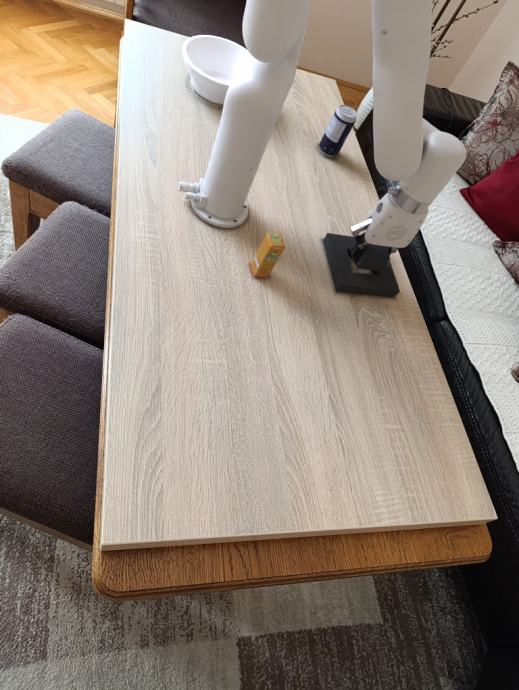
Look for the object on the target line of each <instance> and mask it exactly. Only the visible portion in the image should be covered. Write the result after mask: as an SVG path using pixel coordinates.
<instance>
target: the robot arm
mask: <svg viewBox="0 0 519 690" xmlns="http://www.w3.org/2000/svg"><path fill="white" fill-rule="evenodd" d="M311 5H312V4H311V0H246V3H245V8H244V12H243V17H242V25H241V26H242V28H241V29H242V30H241V31H242V39H243V43H244V45H245V49H247V50H248V52H247V56H246V59H245V60H244V62H243V63H242V65H241V66H240V68H239V69H238V71H237V73H236V74H235V76H234V78H233V79H232V81H231V83H230V85H229V88H228V90H227V93H226V97H225V101H224V105H223V107H222V111H221V117H220V121H219V125H218V128H217V132H216V136H215V139H214V143H213V146H212V150H211V154H210V157H209V161H208V164H207V168H206V171H205V175H204V178H203V177H200V178H199V181H198V182H193V183H189V182H186V181H181V180H180V181H179V182H178V184H177V185H178V186H177V190H178V191H179V192H185V193H184V199H185V200H190V204H191V208H192V210H193V211H194V213H195V214H196V215H197V217H199V219H201V220H203V221H204V222H205V223H207V224H209V225H211V226H214V227H218V228H223V229H232V228H236V227H239V226H240V225H242V224H244V223H245V221H246V220H247V217H248V215H249V205H248V202H247V198H248V195H249V192H250V190H251V187H252V185H253V182H254V179H255V177H256V174H257V172H258V170H259V167H260V164H261V162H262V159H263V156H264V154H265V151H266V149H267V147H268V146H267V145H268V143H269V140H270V138H271V135H272V133H273V131H274V128H275V126H276V123H277V120H278V119H279V116H280V114H281V111H282V108H283V106H284V104H285V102H286V100H287V97H288V94H289V92H290V91H291V88H292V85H293V83H294V80H295V77H296V73H297V70H298V66H299V62H300V59H301V58H300V57H301V54H302V49H303V45H304V42H305V38H306V34H307V30H308V27H309V22H310V17H311V9H312V8H311V7H312V6H311ZM370 7H371V9H370V10H371V28H372V29H371V34H372V35H371V38H372V39H371V41H372V76H371V77H372V101H373V102H372V114H373V115H372V135H373V136H372V137H373V159H374V164H375V168H376V170H377V172H378V173H379V174H380V176H381V177H383V178H384V179H385V180H388V181H391V182H396V184H395V185H394V186H389V187H388V188H387V192H386V194H384V195H383V197H381V198H380V199H379V201H377V203H376V204H375V205H374V206H373V208H372V209H371V210H370V211H369V212H368V214H367V215H366V217H365V218H364V220H363V221H361V222H359V223H357V224H355V225H352V226H350V228H349V230H350V233H351V235H352V237H354V238H355V241H356V243H355V244H354V246H353V247H352V249H351V251H350V253H351V256H352V257H351V258H352V262H353V263H355V262H356V261H357V260H358V259H359V257H360V256H361V254H362V253H363V252H364V247H366V246H367V245H368V244H369V243H370V244H374V245H381V246H387V249H388V252H389V255H390V256H391V255H392V254H395V253H397V251H398V250H401V249H403V248H406V247H408V246H409V245H410V244H414V243H415V242H416V237H415V236H416V235H417V234H418V232H419V231H420V229H421V228H422V226H423V224H424V222H425V220H426V219H427V216H428V215H429V207H430V206H431V205H432V204H433V203H434V201H435V200H436V198H437V197H438V196H439V195H440V194H441V192H442V191H443V190H444V189H445V187H446V186H447V185H448V183H450V181H451V180H452V178H453V177H454V176H455V174H456V173H457V172H458V171H459V169H461V167H462V165H463V164H464V163H465V161H466V159H467V155H468V154H467V149H466V146H465V145H464V143H463V142H462V141H461V140H460V139H459V138H458V137H456V136H454V135H453V134H451V133H448V132H445V131H441V130H439V129H438V128H437V127H436V126H434V125H432V124H431V123H430V122H429V121H428V120H426V119H425V118H423V116H424V103H425V92H426V86H427V80H428V74H429V69H430V61H431V59H430V58H431V49H432V26H433V25H432V24H433V22H432V21H433V0H370ZM178 191H177V192H178ZM364 237H365V240H364V241H363V238H364Z"/></svg>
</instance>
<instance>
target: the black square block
mask: <svg viewBox="0 0 519 690" xmlns="http://www.w3.org/2000/svg"><path fill="white" fill-rule="evenodd" d="M364 240H365V237H364V238H363V241H364ZM355 243H356V241H355ZM355 243H354V244H355ZM354 244H353V246H354ZM353 246H352V247H353ZM352 247H351V249H352ZM389 259H391V255H389V252H388V249H387V246H381V245H374V244H370V243H369V244H368V245H367V246H366V247H364V252H363V253H362V254H361V256H360V257H359V259H358V260H357V261H356V262H354V264H355V268H356V269H358V270H364V271H365V270H366V271H371V270H373V271H380V270H381V269H382V268H383V267H384V265H385V264H386V263H387V262H388V260H389Z"/></svg>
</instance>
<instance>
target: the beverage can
mask: <svg viewBox="0 0 519 690" xmlns="http://www.w3.org/2000/svg"><path fill="white" fill-rule="evenodd" d="M357 116H358V113H357V111H356V110H355V108H353V107H351V106H350V105H348V104H341V105H339V106H338V107H337V108H335V111H334V113H333V115H332V117H331V119H330V121H329V123H328V124H327V127H326V129H325V131H324V133H323V135H322V137H321V140H320V141H319V144H318V146H319V149H320V152H321V153H322V154H323V155H324V156H327V157H328V158H329V157H331V158H332V157H335V156H338V155H339V153H340V152H341V150H342V148H343V146H344V144H345V143H346V140H347V138H348V137H349V135H350V133H351V131H352V129H353V127H354V125H355V123H356V122H357Z"/></svg>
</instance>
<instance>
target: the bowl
mask: <svg viewBox="0 0 519 690" xmlns="http://www.w3.org/2000/svg"><path fill="white" fill-rule="evenodd" d="M181 52H182V56H183V62H184V65H185V67H186V68H185V69H186V70H187V72H188V74H189V75H190V82H191V86H192V88H193V89H194V90H195V92H196V93H197V94H198V95H199V96H201V97H202V98H203V99H205V100H207V101H210V102H212V103H214V104H218V105H223V106H224V101H225V97H226V93H227V90H228V88H229V85H230V83H231V81H232V79H233V78H234V76H235V74H236V73H237V71H238V69H239V68H240V66H241V65H242V63H243V62H244V60H245V59H246V56H247V52H248V50H247V48H246V47H244V46H242V45H240V44H238V43H237V42H235V41H232V40H230V39H227V38H224V37H220V36H216V35H209V34H198V35H193V36H191V37H188V38H187V39H186V40H185V41H184V42H183V45H181Z"/></svg>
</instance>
